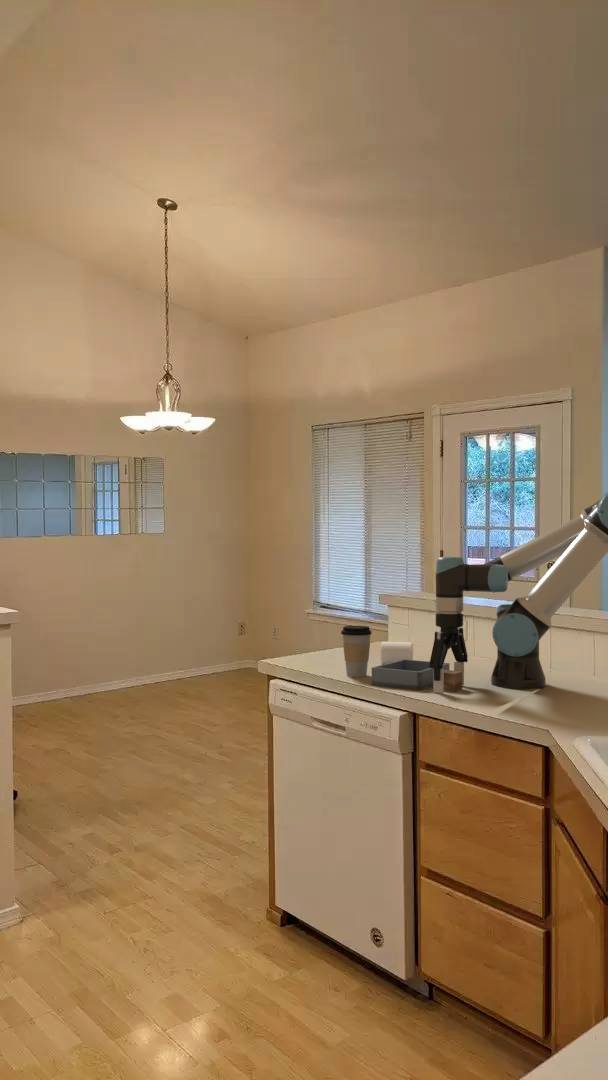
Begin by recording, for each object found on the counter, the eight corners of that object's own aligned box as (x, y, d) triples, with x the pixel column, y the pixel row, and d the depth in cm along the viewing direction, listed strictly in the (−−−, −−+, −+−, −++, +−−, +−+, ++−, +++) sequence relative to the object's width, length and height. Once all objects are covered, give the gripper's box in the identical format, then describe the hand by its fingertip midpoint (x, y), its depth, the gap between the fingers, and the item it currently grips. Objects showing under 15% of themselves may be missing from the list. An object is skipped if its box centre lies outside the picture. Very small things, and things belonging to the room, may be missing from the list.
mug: (411, 668, 274) (411, 643, 274) (380, 667, 276) (380, 643, 276) (414, 663, 286) (414, 639, 286) (384, 662, 288) (384, 638, 288)
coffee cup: (370, 679, 254) (370, 628, 254) (339, 678, 255) (339, 628, 255) (373, 674, 263) (373, 625, 263) (342, 673, 265) (342, 625, 265)
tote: (449, 680, 252) (449, 663, 252) (419, 690, 235) (419, 672, 235) (403, 675, 260) (403, 659, 260) (371, 685, 244) (371, 667, 244)
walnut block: (462, 689, 237) (462, 671, 237) (454, 692, 233) (454, 673, 233) (445, 687, 240) (445, 669, 240) (437, 690, 236) (437, 672, 236)
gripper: (455, 608, 249) (454, 681, 249) (416, 615, 228) (416, 694, 228) (479, 609, 245) (479, 683, 245) (442, 616, 224) (442, 697, 224)
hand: (448, 689), depth 237 cm, fingers open, 13 cm apart
